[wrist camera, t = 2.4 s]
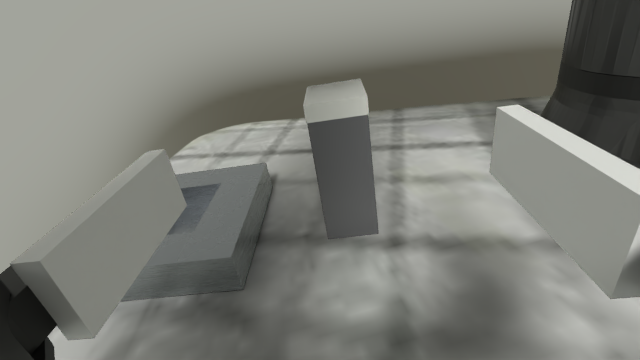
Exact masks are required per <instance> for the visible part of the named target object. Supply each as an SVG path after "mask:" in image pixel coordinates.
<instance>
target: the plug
mask: <svg viewBox="0 0 640 360" xmlns="http://www.w3.org/2000/svg"><path fill="white" fill-rule="evenodd" d="M303 107H304V113H305V118H306V123H307V125H308V130H309V136H310V141H311V147H312V152H313V158H314V163H315V169H316V174H317V180H318V185H319V191H320V196H321V202H322V207H323V213H324V218H325V224H326V229H327V235H328V239H334V238H343V237H352V236H361V235H370V234H378V223H377V211H376V200H375V188H374V177H373V165H372V154H371V142H370V131H369V119H368V115H369V109H368V98H367V94H366V92H365V89H364V87H363V84H362V82H361V79H355V80H348V81H342V82H335V83H329V84H322V85H315V86H309V87H307V91H306V95H305V100H304V105H303Z"/></svg>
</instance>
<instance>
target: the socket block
mask: <svg viewBox="0 0 640 360" xmlns="http://www.w3.org/2000/svg"><path fill="white" fill-rule="evenodd" d="M175 176H176V179H177V181H178V184H179V186H180V189H181V191H182V194H183V196H184V199H185V202H186V204H187V206H186V208H185V209H184V210H183V212H182V213H181V215H180V216H179V218H178V219H177V220H176V222H175V223H174V225H173V226H172V228H171V229H170V231H169V232H168V233H167V235H166V236H165V238H164V239H163V241H162V242H161V243H160V245H159V246H158V248H157V249H156V251H155V252H154V253H153V255H152V256H151V258H150V259H149V261H148V262H147V263H146V265H145V266H144V268H143V269H142V271H141V272H140V273H139V275H138V276H137V278H136V279H135V281H134V282H133V283H132V285H131V286H130V288H129V289H128V291H127V292H126V294H125V295H124V296H123V298H122V299H121V301H129V300H139V299H149V298H160V297H170V296H181V295H191V294H201V293H212V292H222V291H232V290H243V288H244V284H245V281H246V278H247V274H248V271H249V267H250V264H251V260H252V257H253V253H254V250H255V246H256V243H257V240H258V236H259V233H260V229H261V226H262V222H263V219H264V215H265V212H266V208H267V205H268V201H269V198H270V195H271V191H272V184H271V180H270V176H269V172H268V169H267V165H266V163H260V164H253V165H245V166H238V167H230V168H223V169H215V170H207V171H200V172H192V173H185V174H177V175H175Z"/></svg>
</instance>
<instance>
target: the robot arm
mask: <svg viewBox="0 0 640 360" xmlns="http://www.w3.org/2000/svg"><path fill="white" fill-rule="evenodd" d="M489 172H490V173H491V174H492V175H493V176H494V177H495V179H496V180H497V181H498V182H499V183H500V184H501V185H502V186H503V187H504V188H505V189H506V190H507V191H508V192H509V193H510V194H511V195H512V196H513V197H514V198H515V199H516V201H517V202H518V203H519V204H520V205H521V206H522V207H523V208H524V209H525V210H526V211H527V212H528V213H529V214H530V215H531V216H532V217H533V218H534V219H535V220H536V221H537V223H538V224H539V225H540V226H541V227H542V228H543V229H544V230H545V231H546V232H547V233H548V234H549V235H550V236H551V237H552V238H553V239H554V240H555V241H556V242H557V243H558V245H559V246H560V247H561V248H562V249H563V250H564V251H565V252H566V253H567V254H568V255H569V256H570V257H571V258H572V259H573V260H574V261H575V262H576V263H577V264H578V265H579V266H580V268H581V269H582V270H583V271H584V272H585V273H586V274H587V275H588V276H589V277H590V278H591V279H592V280H593V281H594V282H595V283H596V284H597V285H598V286H599V287H600V288H601V290H602V291H603V292H604V293H605V294H606V295H607V296H608V297H609V298H610V299H617V298H630V297H640V0H573V1H572V6H571V11H570V16H569V21H568V28H567V32H566V38H565V43H564V48H563V54H562V60H561V64H560V70H559V75H558V80H557V85H556V88H555V91H554V93H553V95H552V97H551V98H550V100H549V102H548V103H547V105H546V107H545V109H544V110H543V112H542V114H541V115H540V116H539V115H537V114H535V113H533V112H531V111H529V110H527V109H526V108H524V107H522V106H520V105H510V106H502V107H497V111H496V119H495V128H494V137H493V145H492V154H491V163H490V171H489ZM186 206H187V204H186V202H185V199H184V196H183V194H182V191H181V189H180V186H179V184H178V181H177V179H176V176H175V173H174V171H173V168H172V166H171V163H170V161H169V158H168V156H167V153H166V151H165V149H161V150H154V151H147V152H146V153H145V154H143V155H142V156H141V157H140V158H138V159H137V160H136V161H135V162H134V163H132V164H131V165H130V166H129V167H127V168H126V169H125V170H124V171H123V172H121V173H120V174H119V175H118V176H116V177H115V178H114V179H113V180H112V181H110V182H109V183H108V184H107V185H106V186H104V187H103V188H102V189H101V190H99V191H98V192H97V193H96V194H94V195H93V196H92V197H91V198H90V199H88V200H87V201H86V202H85V203H83V205H81V206H80V207H79V208H77V209H76V210H75V211H74V212H72V213H71V214H70V215H69V216H68V217H66V218H65V219H64V220H63V221H61V222H60V223H59V224H58V225H57V226H55V227H54V228H53V229H52V230H50V231H49V232H48V233H47V234H46V235H44V236H43V237H42V238H41V239H40V240H38V241H37V242H36V243H35V244H33V245H32V246H31V247H30V248H29V249H27V250H26V251H25V252H24V253H22V254H21V255H20V256H19V257H18V258H17V259H15V260H14V261H13V262H11V263H10V265H11V266H10V267H9V268H7V269H6V270H5V271H3V272H2V273H1V274H0V360H55V357H54V346H53V344H52V342H51V341H50V340H49V338H48V337H47V336H48V335H49V334H50V333H51V331H52V330H53V329H54V328H55V327H56V326H58V328H59V329H60V330H61V332H62V333H63V334H64V336H65V337H66V338H67V339H68V340H78V339H91V338H95V336H96V335H97V334H98V332H99V331H100V329H101V328H102V326H103V325H104V324H105V322H106V321H107V319H108V318H109V316H110V315H111V314H112V312H113V311H114V309H115V308H116V306H117V305H118V304H119V302H120V301H121V299H122V298H123V296H124V295H125V294H126V292H127V291H128V289H129V288H130V286H131V285H132V283H133V282H134V281H135V279H136V278H137V276H138V275H139V273H140V272H141V271H142V269H143V268H144V266H145V265H146V263H147V262H148V261H149V259H150V258H151V256H152V255H153V253H154V252H155V251H156V249H157V248H158V246H159V245H160V243H161V242H162V241H163V239H164V238H165V236H166V235H167V233H168V232H169V231H170V229H171V228H172V226H173V225H174V223H175V222H176V220H177V219H178V218H179V216H180V215H181V213H182V212H183V210H184V209H185V208H186Z"/></svg>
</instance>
